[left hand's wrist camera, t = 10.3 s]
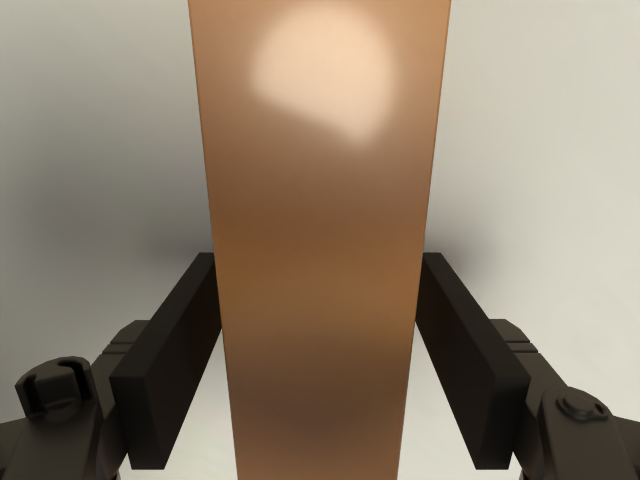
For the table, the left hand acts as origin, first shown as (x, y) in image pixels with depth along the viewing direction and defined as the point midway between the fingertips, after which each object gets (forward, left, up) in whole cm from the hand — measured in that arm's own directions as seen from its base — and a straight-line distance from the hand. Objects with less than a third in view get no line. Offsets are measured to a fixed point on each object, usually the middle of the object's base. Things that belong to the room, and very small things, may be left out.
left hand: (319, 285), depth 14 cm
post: (-3, +31, -3) cm, 31 cm away
